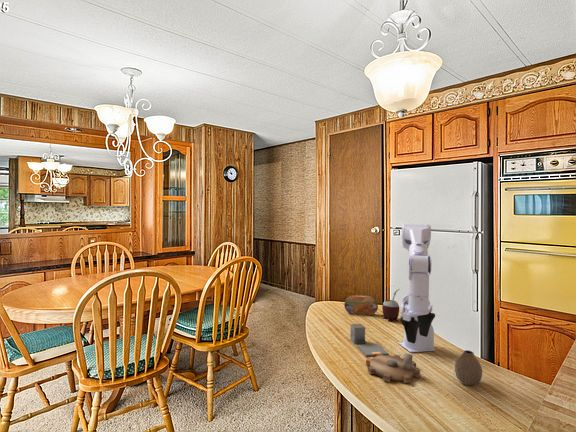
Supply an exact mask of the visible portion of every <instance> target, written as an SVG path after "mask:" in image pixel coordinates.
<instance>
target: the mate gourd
mask: <svg viewBox="0 0 576 432" xmlns="http://www.w3.org/2000/svg"><path fill="white" fill-rule="evenodd" d="M398 291H400V288H398V289H396V290H395V291H394V293H393V296H392V299H385V300H384V301H383V303H382V316H383V319H384V320H387V322H389V323H390V322H391V321H395V322H398V321H399V319H398V318H399V315H400V305H399V303H398V301H396V300H395V297H396V295H397V292H398Z"/></svg>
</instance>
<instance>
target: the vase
mask: <svg viewBox="0 0 576 432" xmlns="http://www.w3.org/2000/svg"><path fill="white" fill-rule="evenodd" d="M455 360H456V361H455V363H454V374H455V376H456V378H457V379H458V381H459V382H460V383H461V384H463V385H465V386H469V387H474V386H476V385H478V384H479V383H480V382H481V380H482V378H483V369H482V364H481V363H480V361H479V360H478V358H477V357H476V355H475V353H474V352H473V351H472V350H468V349H467V350H463V352H462V354H461V355H459V356H458V357H457V358H456V359H455Z"/></svg>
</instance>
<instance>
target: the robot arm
mask: <svg viewBox="0 0 576 432" xmlns="http://www.w3.org/2000/svg"><path fill="white" fill-rule="evenodd" d="M401 230H402V231H401V232H402V233H401V239H402V241H401V243H402V247H403V248H404V249H406V250H407V252H408V258H407V273H408V274H407V275H408V293H407V294H405V295H404V296H403V297H402V298H401V300H400V301H401V302H400V318H399V319H400V322H401V325H402V326H403V341H399V342H398V344H399V345H400V346H401V347H403V348H404V349H405V350H407V351H408V352H409V353H422V352H423V353H424V352H434V351H435V350H436V349H435V348H434V340H435V331H434V327H433V325H432V323H433V321H434V319H435V318H436V313H434V312H433V304H431V302H430V275H431V273H432V266H433V265H432V256H431V255H430V254H429V250H428V249H429V248H430V243H431V240H432V226H431V225H430V224H428V223H427V224H415V223H413V224H412V223H411V224H410V223H406V224H405V223H403V224H402V227H401Z"/></svg>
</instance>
